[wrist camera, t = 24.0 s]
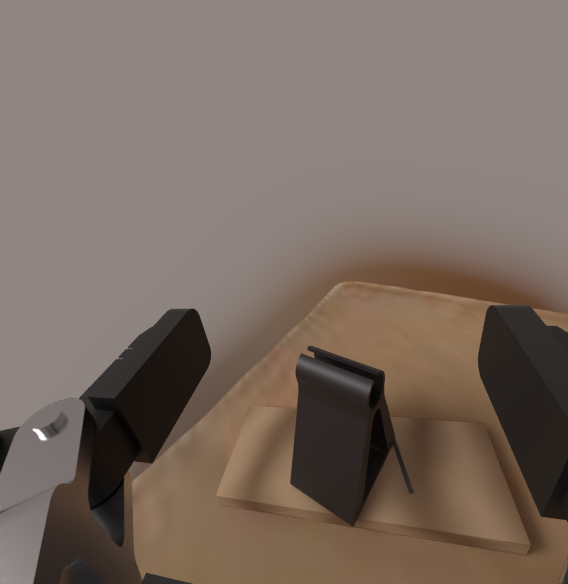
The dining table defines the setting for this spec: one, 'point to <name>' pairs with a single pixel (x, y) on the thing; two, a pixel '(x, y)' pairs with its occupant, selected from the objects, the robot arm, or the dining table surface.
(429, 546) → the dining table surface
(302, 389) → the phone stand
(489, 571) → the dining table surface
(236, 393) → the dining table surface
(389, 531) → the oak board
